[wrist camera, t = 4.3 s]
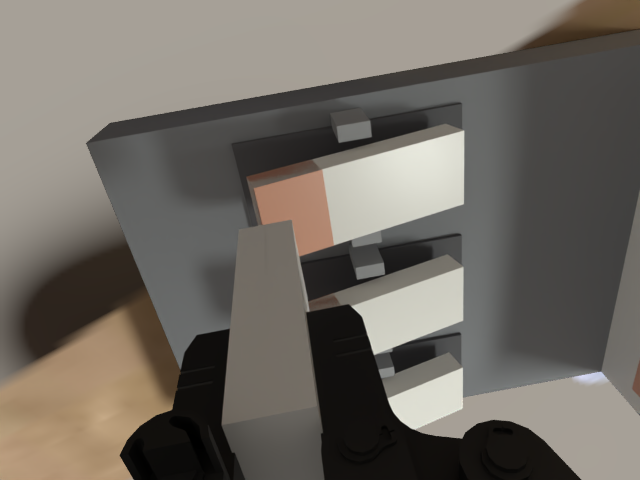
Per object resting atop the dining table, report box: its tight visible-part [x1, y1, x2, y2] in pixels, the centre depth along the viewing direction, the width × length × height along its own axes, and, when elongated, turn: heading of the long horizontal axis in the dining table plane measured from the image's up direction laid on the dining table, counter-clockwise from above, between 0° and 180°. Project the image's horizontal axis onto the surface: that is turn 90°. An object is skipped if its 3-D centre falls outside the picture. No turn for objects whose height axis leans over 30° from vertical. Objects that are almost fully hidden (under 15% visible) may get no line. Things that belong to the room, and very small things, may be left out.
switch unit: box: [86, 29, 640, 415], centre depth 20 cm, size 24×18×10 cm
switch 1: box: [246, 124, 464, 256], centre depth 17 cm, size 8×3×1 cm, turn 99°
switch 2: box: [308, 254, 464, 355], centre depth 20 cm, size 8×3×1 cm, turn 99°
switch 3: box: [382, 352, 463, 430], centre depth 23 cm, size 8×3×1 cm, turn 99°
